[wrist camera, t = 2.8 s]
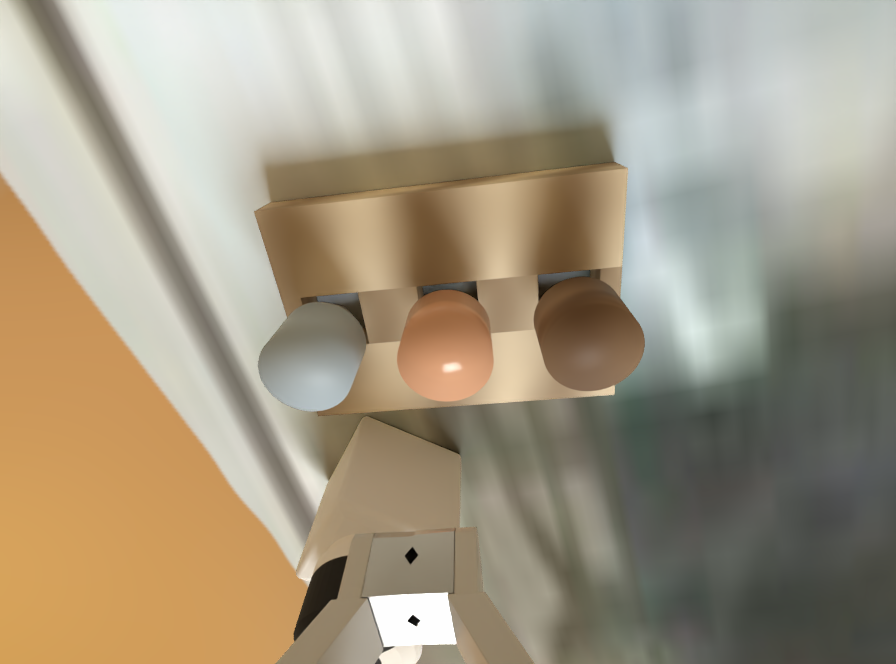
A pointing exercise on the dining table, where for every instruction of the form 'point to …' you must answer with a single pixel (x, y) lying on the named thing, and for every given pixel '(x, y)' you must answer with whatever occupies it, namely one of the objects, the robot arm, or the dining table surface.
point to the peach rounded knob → (446, 346)
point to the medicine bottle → (377, 510)
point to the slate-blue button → (313, 357)
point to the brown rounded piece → (587, 334)
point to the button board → (450, 265)
